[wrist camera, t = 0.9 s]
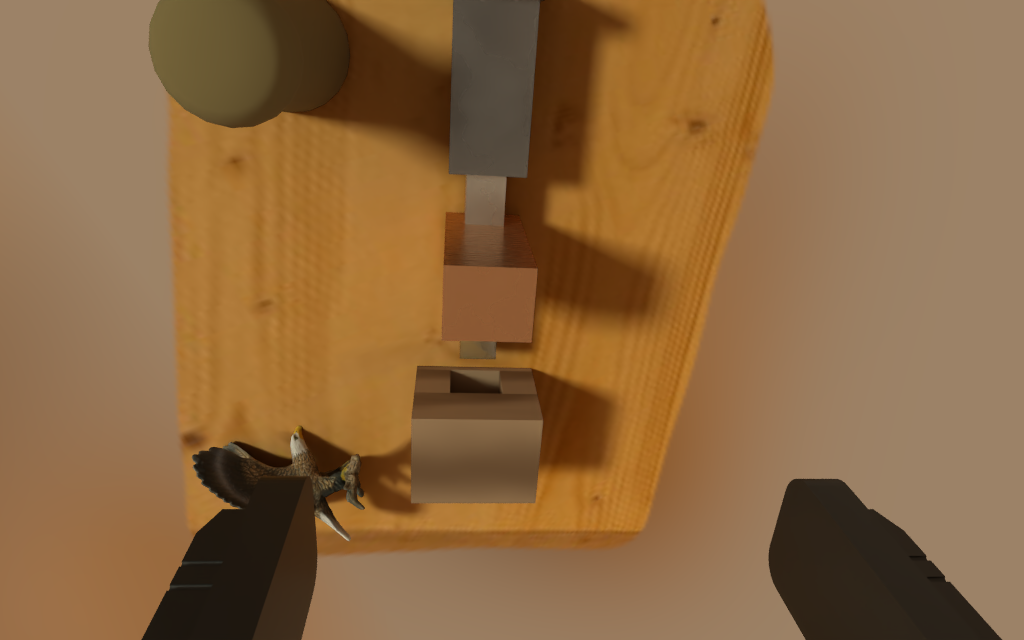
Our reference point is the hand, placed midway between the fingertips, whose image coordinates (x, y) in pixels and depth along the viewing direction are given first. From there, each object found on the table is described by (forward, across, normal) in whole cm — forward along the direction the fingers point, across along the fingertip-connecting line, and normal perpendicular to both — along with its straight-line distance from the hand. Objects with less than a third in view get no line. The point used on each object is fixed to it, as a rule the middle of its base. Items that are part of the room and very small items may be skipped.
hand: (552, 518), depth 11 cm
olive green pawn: (+27, +10, -6) cm, 30 cm away
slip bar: (+27, 0, 0) cm, 27 cm away
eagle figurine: (+27, +11, +18) cm, 35 cm away
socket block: (+27, 0, +14) cm, 31 cm away
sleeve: (+27, 0, -5) cm, 28 cm away
